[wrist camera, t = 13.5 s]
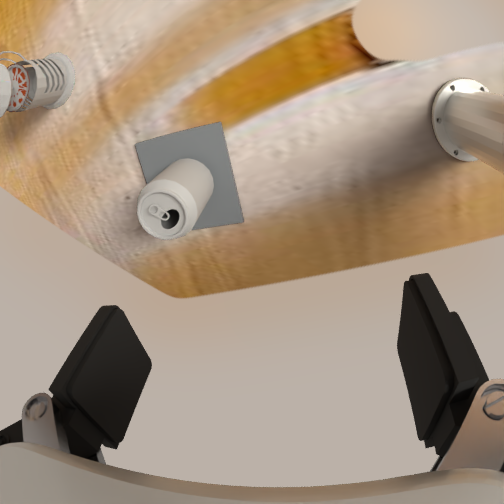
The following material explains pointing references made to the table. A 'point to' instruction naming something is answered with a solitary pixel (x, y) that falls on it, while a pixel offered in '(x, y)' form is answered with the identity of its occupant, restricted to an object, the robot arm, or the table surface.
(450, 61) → the table surface
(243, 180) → the table surface
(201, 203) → the can
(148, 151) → the mat
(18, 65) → the french press
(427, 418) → the robot arm
